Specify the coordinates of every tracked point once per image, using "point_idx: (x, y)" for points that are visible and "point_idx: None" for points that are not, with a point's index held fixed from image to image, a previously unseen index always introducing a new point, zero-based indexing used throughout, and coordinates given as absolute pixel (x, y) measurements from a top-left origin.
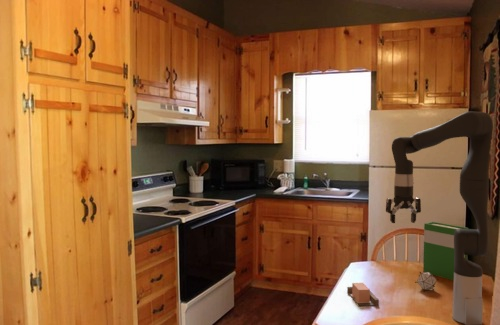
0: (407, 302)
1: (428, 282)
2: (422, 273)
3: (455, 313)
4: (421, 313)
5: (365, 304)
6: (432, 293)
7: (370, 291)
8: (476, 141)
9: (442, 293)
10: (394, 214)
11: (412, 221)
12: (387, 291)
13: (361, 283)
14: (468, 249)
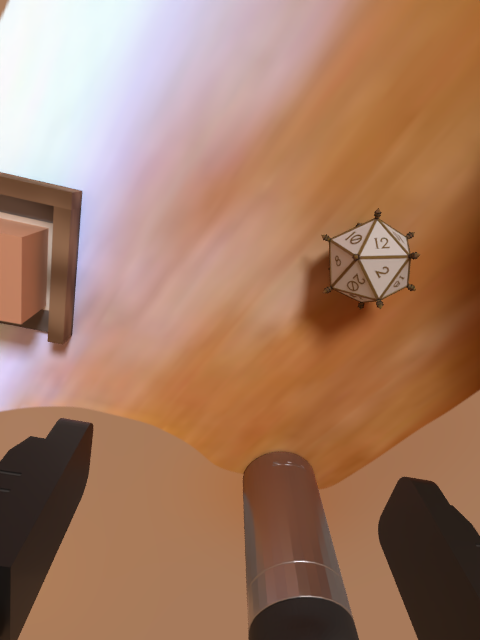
0: (193, 337)
1: (349, 295)
2: (361, 265)
3: (243, 493)
4: (182, 418)
5: None
6: None
7: (66, 259)
8: None
9: None
10: (5, 633)
11: (391, 527)
12: (182, 217)
13: (10, 245)
14: None
